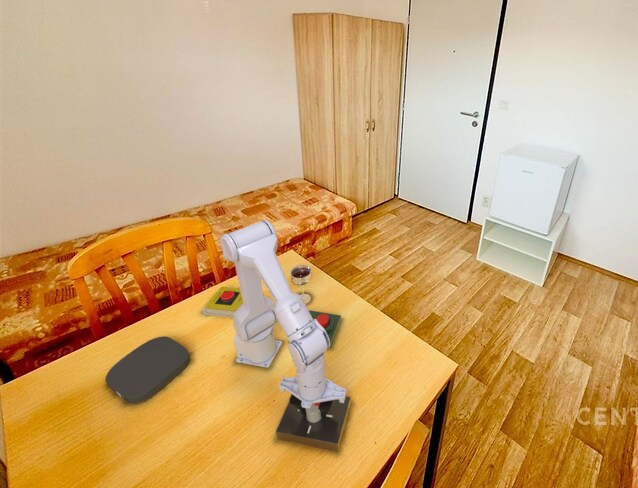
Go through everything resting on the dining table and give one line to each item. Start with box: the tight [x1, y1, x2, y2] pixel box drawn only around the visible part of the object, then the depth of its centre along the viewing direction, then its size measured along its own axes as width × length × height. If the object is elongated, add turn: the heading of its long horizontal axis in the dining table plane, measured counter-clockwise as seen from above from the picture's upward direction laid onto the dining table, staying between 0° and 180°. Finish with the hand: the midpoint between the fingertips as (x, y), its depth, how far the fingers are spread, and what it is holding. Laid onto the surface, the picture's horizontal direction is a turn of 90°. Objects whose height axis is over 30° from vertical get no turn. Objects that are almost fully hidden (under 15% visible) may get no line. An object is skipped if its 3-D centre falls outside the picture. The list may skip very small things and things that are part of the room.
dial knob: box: [305, 402, 321, 423], centre depth 72 cm, size 4×4×4 cm
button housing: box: [308, 309, 342, 349], centre depth 96 cm, size 12×10×4 cm
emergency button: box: [202, 286, 243, 318], centre depth 102 cm, size 9×4×15 cm
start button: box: [316, 314, 329, 328], centre depth 94 cm, size 4×4×2 cm
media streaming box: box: [105, 336, 191, 405], centre depth 81 cm, size 15×15×3 cm
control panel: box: [275, 395, 352, 452], centre depth 73 cm, size 14×10×3 cm
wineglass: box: [289, 264, 313, 305], centre depth 105 cm, size 7×7×12 cm
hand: (314, 412), depth 73 cm, fingers closed on dial knob, 4 cm apart
